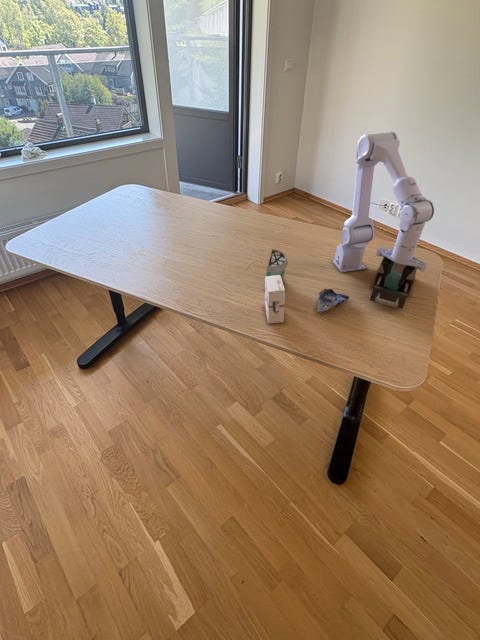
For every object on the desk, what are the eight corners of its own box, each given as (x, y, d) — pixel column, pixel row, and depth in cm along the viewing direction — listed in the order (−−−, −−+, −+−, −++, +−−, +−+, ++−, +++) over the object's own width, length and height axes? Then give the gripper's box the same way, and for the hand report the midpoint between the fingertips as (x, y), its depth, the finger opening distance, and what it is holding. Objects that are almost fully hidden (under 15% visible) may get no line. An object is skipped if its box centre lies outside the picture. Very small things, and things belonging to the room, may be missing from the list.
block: (395, 291, 107) (399, 280, 104) (383, 286, 109) (386, 275, 106) (400, 285, 109) (404, 274, 106) (388, 280, 111) (392, 270, 108)
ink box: (263, 306, 110) (264, 275, 102) (279, 305, 110) (281, 274, 103) (267, 324, 104) (269, 292, 96) (283, 323, 104) (286, 291, 96)
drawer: (400, 317, 104) (405, 304, 101) (366, 308, 107) (370, 295, 104) (408, 288, 115) (412, 275, 112) (377, 280, 119) (381, 268, 115)
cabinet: (407, 297, 113) (413, 280, 108) (372, 288, 117) (377, 271, 112) (412, 277, 121) (419, 261, 117) (380, 269, 125) (384, 253, 121)
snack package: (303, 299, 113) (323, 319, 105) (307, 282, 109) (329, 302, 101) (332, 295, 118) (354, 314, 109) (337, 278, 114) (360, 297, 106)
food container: (283, 294, 115) (286, 269, 108) (265, 292, 116) (266, 267, 109) (287, 274, 124) (289, 249, 117) (270, 272, 125) (271, 248, 118)
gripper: (437, 246, 97) (421, 285, 106) (388, 230, 105) (377, 268, 114) (428, 255, 93) (412, 296, 102) (377, 239, 101) (367, 278, 110)
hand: (393, 282), depth 108 cm, fingers closed on block, 4 cm apart
